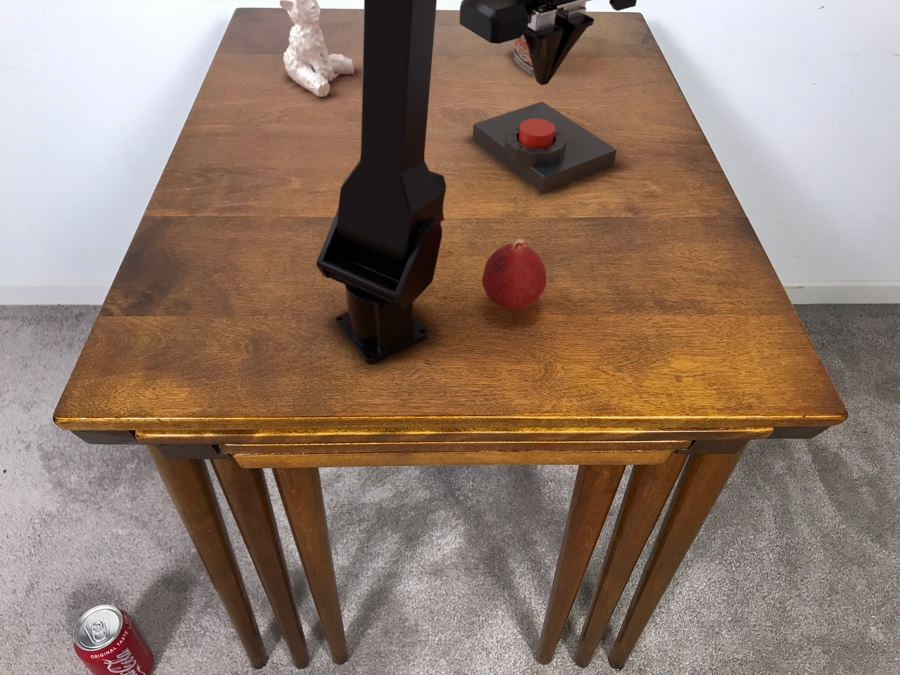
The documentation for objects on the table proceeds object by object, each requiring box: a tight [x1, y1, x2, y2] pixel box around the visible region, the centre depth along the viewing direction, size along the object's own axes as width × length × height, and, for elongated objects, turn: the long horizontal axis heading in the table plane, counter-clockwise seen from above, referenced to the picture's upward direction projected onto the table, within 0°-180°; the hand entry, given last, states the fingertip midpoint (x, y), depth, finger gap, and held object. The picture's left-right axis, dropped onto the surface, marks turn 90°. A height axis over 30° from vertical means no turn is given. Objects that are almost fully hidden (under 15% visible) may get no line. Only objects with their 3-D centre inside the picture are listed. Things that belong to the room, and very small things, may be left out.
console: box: [472, 101, 618, 194], centre depth 86 cm, size 14×12×4 cm
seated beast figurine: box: [279, 0, 355, 98], centre depth 96 cm, size 10×9×12 cm
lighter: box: [512, 35, 535, 76], centre depth 101 cm, size 8×3×10 cm, turn 22°
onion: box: [481, 238, 547, 310], centre depth 66 cm, size 6×6×8 cm
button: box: [519, 119, 555, 148], centre depth 82 cm, size 4×4×2 cm
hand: (542, 83), depth 77 cm, fingers closed
